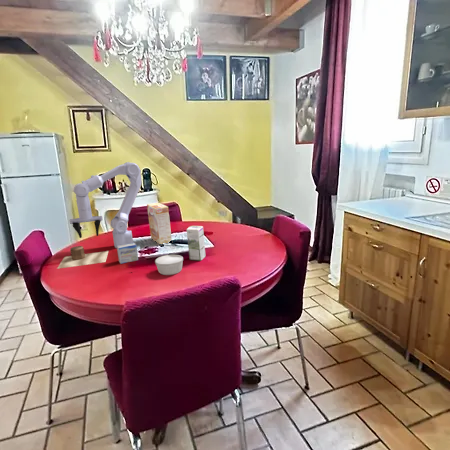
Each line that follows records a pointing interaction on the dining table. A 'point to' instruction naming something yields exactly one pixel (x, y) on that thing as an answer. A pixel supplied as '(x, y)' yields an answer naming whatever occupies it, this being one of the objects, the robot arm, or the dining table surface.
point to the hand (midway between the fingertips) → (89, 236)
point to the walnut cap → (77, 253)
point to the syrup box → (196, 242)
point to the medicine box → (127, 253)
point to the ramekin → (169, 264)
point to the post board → (84, 260)
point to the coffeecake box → (159, 223)
